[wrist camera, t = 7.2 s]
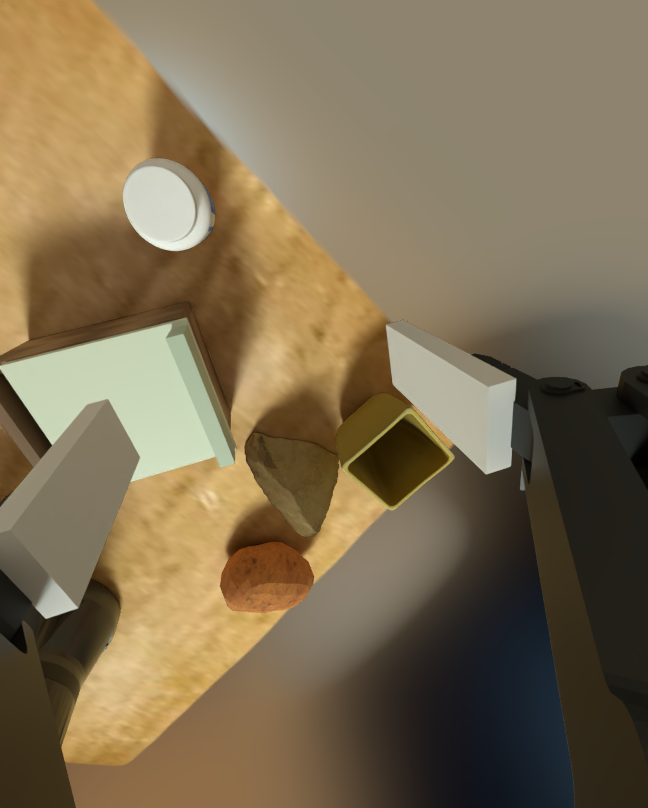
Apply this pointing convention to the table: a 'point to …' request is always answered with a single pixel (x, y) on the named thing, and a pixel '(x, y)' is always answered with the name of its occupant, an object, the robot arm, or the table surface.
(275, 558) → the potato
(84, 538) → the robot arm
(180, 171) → the pill bottle
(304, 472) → the rock
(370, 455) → the flower pot
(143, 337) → the lid
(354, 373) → the table surface
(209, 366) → the box
